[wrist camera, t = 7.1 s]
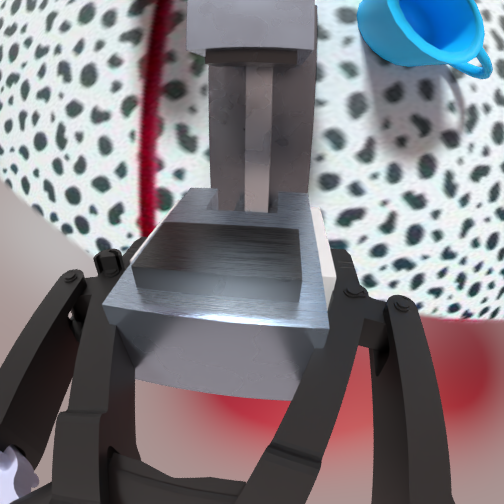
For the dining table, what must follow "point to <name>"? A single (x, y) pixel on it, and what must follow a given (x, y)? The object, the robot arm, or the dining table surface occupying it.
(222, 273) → the stepped metal block
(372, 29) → the mug
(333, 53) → the dining table surface
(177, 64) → the dining table surface
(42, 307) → the robot arm
